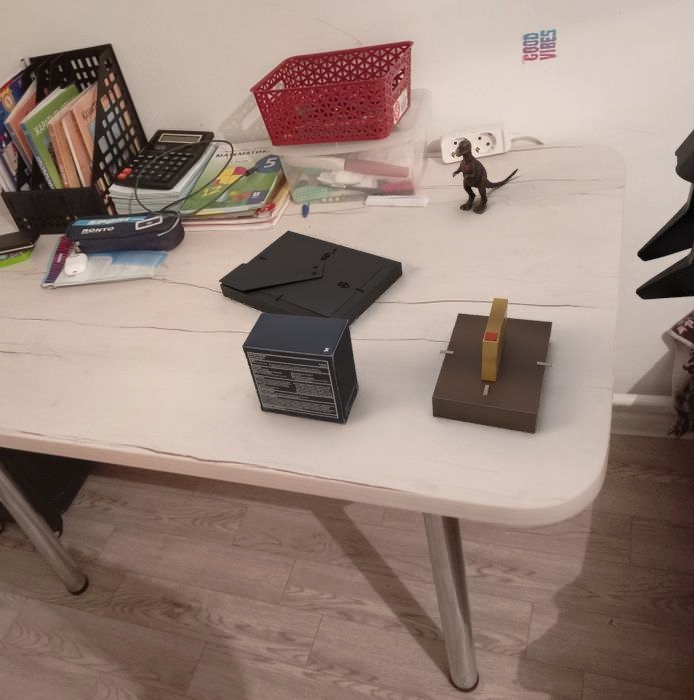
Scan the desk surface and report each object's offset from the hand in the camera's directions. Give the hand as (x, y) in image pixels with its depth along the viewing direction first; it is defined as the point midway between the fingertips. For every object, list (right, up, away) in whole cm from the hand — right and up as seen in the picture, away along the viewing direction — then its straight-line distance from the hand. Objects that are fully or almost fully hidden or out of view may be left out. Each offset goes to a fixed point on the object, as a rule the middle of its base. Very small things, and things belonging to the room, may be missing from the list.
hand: (639, 275), depth 56 cm
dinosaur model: (+3, +17, +40) cm, 43 cm away
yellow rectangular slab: (-8, -8, +11) cm, 16 cm away
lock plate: (-8, -10, +13) cm, 18 cm away
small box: (-27, -13, +18) cm, 35 cm away
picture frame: (-25, +2, +34) cm, 42 cm away
